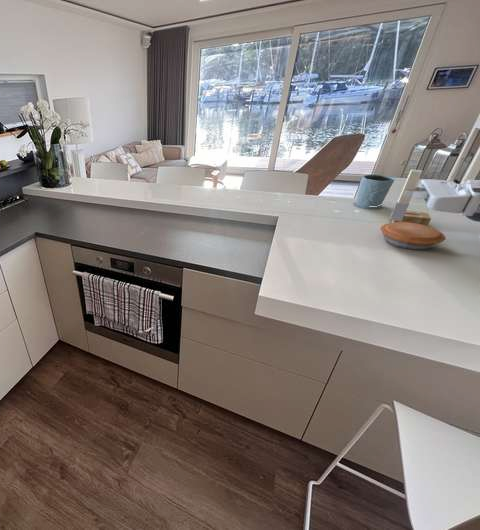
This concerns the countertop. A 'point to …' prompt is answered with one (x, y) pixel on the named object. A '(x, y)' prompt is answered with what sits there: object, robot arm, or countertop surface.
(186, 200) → the countertop surface
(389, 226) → the pie
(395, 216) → the knife
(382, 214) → the countertop surface
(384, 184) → the blue gray cup
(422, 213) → the knife stand
